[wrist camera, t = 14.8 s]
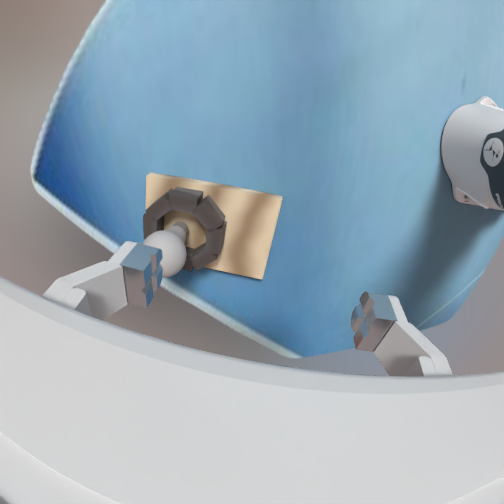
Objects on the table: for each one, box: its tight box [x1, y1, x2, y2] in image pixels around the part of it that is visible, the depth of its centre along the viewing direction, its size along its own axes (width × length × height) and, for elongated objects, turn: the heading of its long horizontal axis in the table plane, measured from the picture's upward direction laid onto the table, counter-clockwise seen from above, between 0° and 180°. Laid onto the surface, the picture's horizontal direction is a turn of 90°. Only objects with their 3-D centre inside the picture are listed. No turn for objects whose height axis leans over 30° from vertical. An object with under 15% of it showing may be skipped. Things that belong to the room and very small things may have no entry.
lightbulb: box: [143, 221, 188, 277], centre depth 37 cm, size 6×6×11 cm
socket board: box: [143, 173, 282, 279], centre depth 41 cm, size 20×14×4 cm
